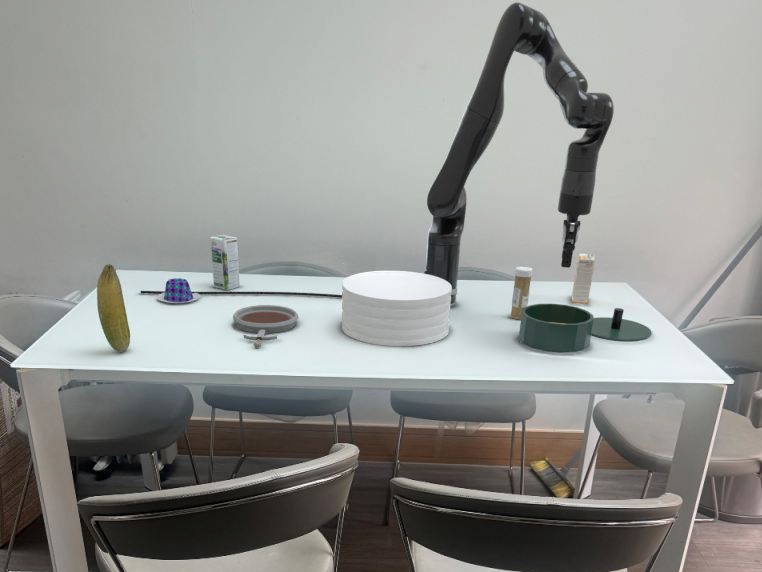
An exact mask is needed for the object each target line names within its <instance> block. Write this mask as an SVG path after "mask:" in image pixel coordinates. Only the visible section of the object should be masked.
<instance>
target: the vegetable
mask: <svg viewBox="0 0 762 572" xmlns="http://www.w3.org/2000/svg"><path fill="white" fill-rule="evenodd" d="M96 300H97V301H96V306H97V313H98V318H99V322H100V325H101V329H102V332H103V334H104V337H105V338H106V341H107V343H108V344H109V345H110V347H111V348H112V349H113V350H114V351H115V352H119V353H122V352H125V351H127V350H128V349H129V347H130V344H131V330H130V325H129V320H128V315H127V309H126V304H125V300H124V295H123V289H122V284H121V280H120V278H119V276H118V273H117V270H116V268H115V267H114V265H113V264H109V263H108V264H105V265H104V266H103V268H102V271H101V273H100V275H99V277H98V279H97V285H96Z"/></svg>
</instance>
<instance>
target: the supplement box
mask: <svg viewBox="0 0 762 572" xmlns="http://www.w3.org/2000/svg"><path fill="white" fill-rule="evenodd" d="M595 263H596V257H595V254H594V253H593V254H591V253H578V255H577V261H576V267H575V274H574V280H573V285H572V292H571V296H570V297H571V303H573V304H584V305H588V303H589V298H590V292H591V286H592V283H593V275H594V270H595Z"/></svg>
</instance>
